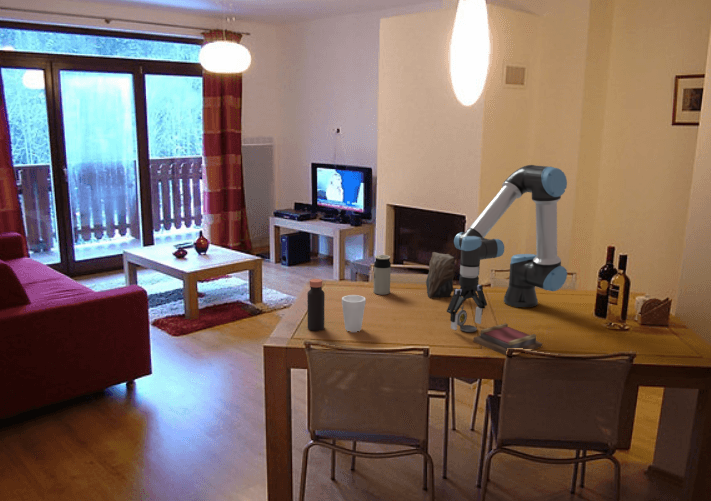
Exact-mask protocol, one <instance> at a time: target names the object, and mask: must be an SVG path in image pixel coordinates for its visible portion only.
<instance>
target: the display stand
mask: <svg viewBox="0 0 711 501" xmlns="http://www.w3.org/2000/svg"><path fill="white" fill-rule="evenodd" d="M472 339H473V340H472V342H474V343H477V344H479V345H481V346H483V347H485V348H488V349H490V350H493V351H495V352H497V353H499V354H501V355H504V356H506V351H507V348H523V349H534V350H537V349H539V348H538V347H540V348H542V347H543V342H541V341H538V340H537V334H535V333H532V334H528V333H525V332H523V331H520V330H518V329H516V328H513V327H510V326H509V323H502V324H501V323H500V324H498V325H494V326H491V327H487V328H483V329H480V332H479V335H477V336H474V337H473V338H472ZM541 346H542V347H541Z"/></svg>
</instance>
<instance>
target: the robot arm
mask: <svg viewBox="0 0 711 501" xmlns="http://www.w3.org/2000/svg"><path fill="white" fill-rule="evenodd" d="M501 186H502V187H501V189H500V190H499V191H498V192H497V193H496V195H495V196H494V197H493V198H492V199H491V201H490V202H489V203H488V204H487V206H486V207H484V209H483V210H482V211H481V213H480V214H479V215H478V216H477V218H476V219H475V220H474V221H473V222H472V224H471V225H470V226H469V227H468V228H467V229H466V231H465V232H464V231H461V232H459V233H457V234H456V235H455V236H454V239H453V244H454V245H453V246H454V247H455V248H456V249H457V250H460V266H459V268H460V269H459V274H460V275H459V280H458V283H459V285H460V287H459V288H453V292H452V293H453V294H452V295H451V299H450V302H449V304H448V307H447V309H446V313H448V314H450V319H449V320H450V329H452V330H454V331H457V330H458V325H457V319H458V312H459V311H460V309H461V308H462V306H463V305H462V304H464V302H465V301H467V300H469V299H472V300H473V302H474V303H475V305H477V306H476V307H475V315H474V316H475V317H474V323H475V324H479V325H481V324H482V315H483V310H485V309H486V307H487V306H488V303H487V299H486V296H485V294H484V290H483V285H482V284H479V280H480V278H479V276H480V264H481V261H482V260H488V259H490V260H491V259H496V258H500V257H502V256H503V255H504V254H505V243H504V242H503V240H501V239H500V238H491V239H490V238H485V237H486V236H488V234H489V232H490V231H492V229H493V227H494V226H495V225H496V224H497V223H498V222H499V221H500V219H501V218H502V217H503V215H504V214H505V213H506V211H507V210H509V208H510V207H511V206H512V204H513V203H514V202H515V201H516V199H520V198H521V197H522V196H523V195H524V194H525V193H526V194H527V193H530V194H531V200H532V201H533V202H534V203H535V232H536V233H535V241H536V243H535V244H536V246H535V248H536V251H535V252H536V253H534V254H533V253H519V254H518V253H517V254H514V255H512V256H511V258H510V264H509V276H508V277H509V279H508V286H507V289H506V291H505V294H504V296H503V303H504V302H505V303H506V304H505V303H504V304H505V305H507V304H508V305H507V306H509V305H511V306H510V307H513V306H515V307H514V308H518V307H533V306H536V305H537V306H538V298H537V297H538V296H537V292H536V288H538V289H541V290H545V291H549V292H556V291H559V290H560V289H562V287H563V286H564V285H565V283H566V281H567V277H568V270H567V268H566V267H564V266H562V258H561V257H559V255H558V202H559V201H560V200H561V199H562V198H561V197H562V196H563V195H564V194H565V192H566V189H567V186H568V180H567V176H566V174H565V172H564V171H562V169H560V168H558V167H553V166H548V165H547V166H544V165H535V164H528V165H524V166H522V167H519V168H517V169H516V170H515V171H513V173H511V174H510V175H509V176H508V177H507V178H506V179H505V180H504V181H503V182H502V184H501ZM537 306H536V307H537ZM460 307H461V308H460ZM533 308H534V307H533Z"/></svg>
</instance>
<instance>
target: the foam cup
mask: <svg viewBox="0 0 711 501" xmlns="http://www.w3.org/2000/svg"><path fill="white" fill-rule="evenodd" d="M366 301H367V300H366V297H365V296H362V295H358V294H349V295H345V296H342V297H341V306H342V314H343V321H344V328H345V329H346V330H347V331H346V330H345V331H346V332H348V331H351V332H350V333H358V332H357V331H359V332H360V330H361V331H362V327H363V319H364V314H365V308H366V307H365V306H366Z"/></svg>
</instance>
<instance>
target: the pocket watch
mask: <svg viewBox="0 0 711 501" xmlns="http://www.w3.org/2000/svg"><path fill="white" fill-rule="evenodd" d="M464 308H465V305H464V303H462V305H461V307H460V308H459V310H458V312H457V314H458V319H457V327H458V326H459V330H460V331H462V332H466V333H474V332H476V331H477V326H474V325H470V324H465V323H466V321H467V317H468V315H467V311H466V310H464Z"/></svg>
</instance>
